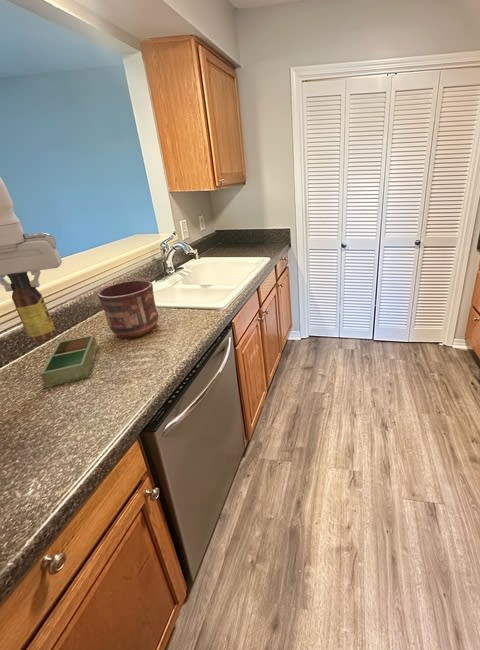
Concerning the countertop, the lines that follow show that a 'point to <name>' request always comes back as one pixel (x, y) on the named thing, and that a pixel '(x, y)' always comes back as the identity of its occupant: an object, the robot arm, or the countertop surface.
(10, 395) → the countertop surface
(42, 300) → the sauce bottle
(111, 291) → the pottery
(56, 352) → the green shallow open box
